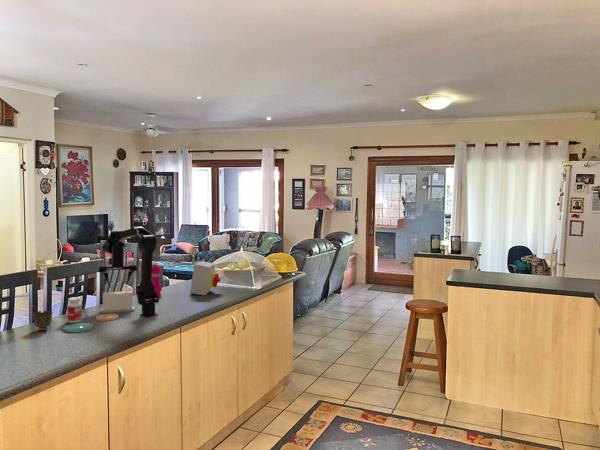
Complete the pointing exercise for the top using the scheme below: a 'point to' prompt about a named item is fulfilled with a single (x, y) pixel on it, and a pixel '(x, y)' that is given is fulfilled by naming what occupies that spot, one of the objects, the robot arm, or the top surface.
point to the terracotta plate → (107, 317)
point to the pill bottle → (74, 310)
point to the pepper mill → (156, 279)
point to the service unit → (117, 302)
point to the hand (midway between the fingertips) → (117, 284)
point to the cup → (42, 319)
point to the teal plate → (77, 327)
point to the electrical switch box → (203, 278)
